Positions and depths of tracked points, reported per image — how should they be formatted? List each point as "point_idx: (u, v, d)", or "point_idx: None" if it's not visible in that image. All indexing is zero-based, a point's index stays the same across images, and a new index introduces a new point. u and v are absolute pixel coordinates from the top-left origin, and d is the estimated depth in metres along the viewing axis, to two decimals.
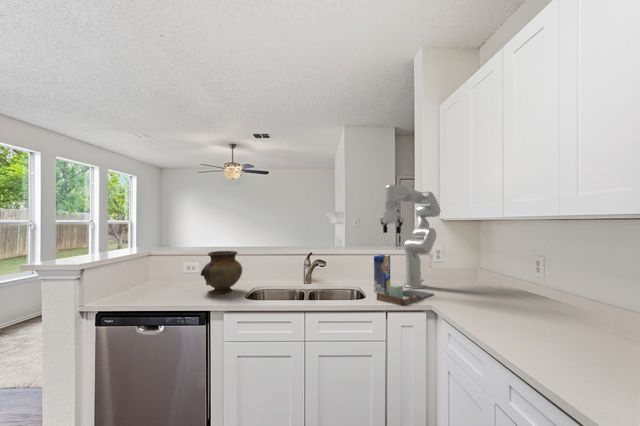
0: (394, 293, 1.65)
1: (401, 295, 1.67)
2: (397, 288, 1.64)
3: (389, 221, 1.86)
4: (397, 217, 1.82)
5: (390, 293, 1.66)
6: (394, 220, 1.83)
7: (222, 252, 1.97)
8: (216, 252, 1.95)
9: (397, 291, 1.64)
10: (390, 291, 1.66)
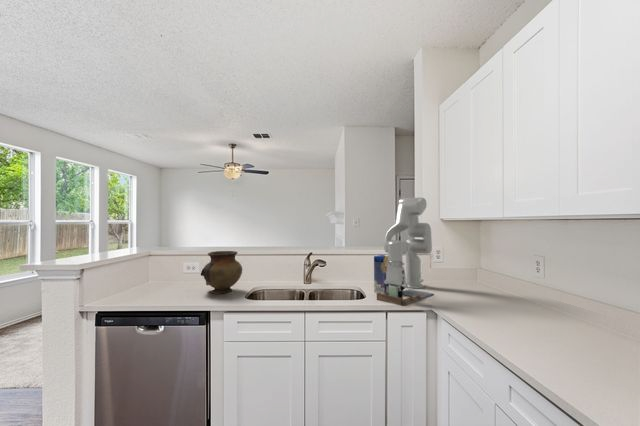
0: (394, 293, 1.65)
1: None
2: (397, 288, 1.64)
3: (393, 282, 1.66)
4: (402, 281, 1.63)
5: (390, 293, 1.66)
6: (398, 282, 1.63)
7: (222, 252, 1.97)
8: (216, 252, 1.95)
9: (397, 291, 1.64)
10: (390, 291, 1.66)
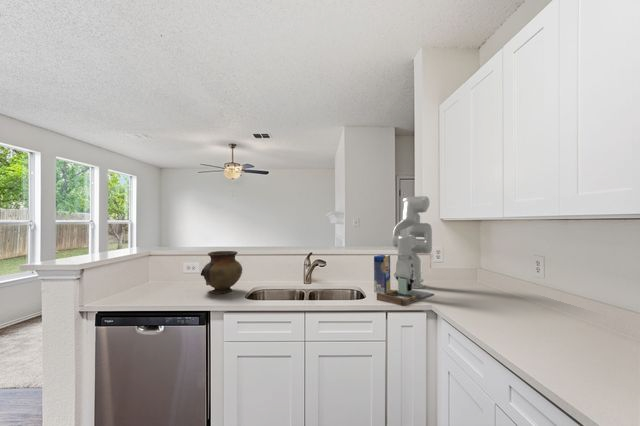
0: (403, 286, 1.71)
1: None
2: (406, 281, 1.71)
3: (402, 275, 1.73)
4: (411, 274, 1.69)
5: (400, 285, 1.73)
6: (408, 275, 1.70)
7: (222, 252, 1.97)
8: (216, 252, 1.95)
9: (406, 284, 1.70)
10: (400, 284, 1.73)
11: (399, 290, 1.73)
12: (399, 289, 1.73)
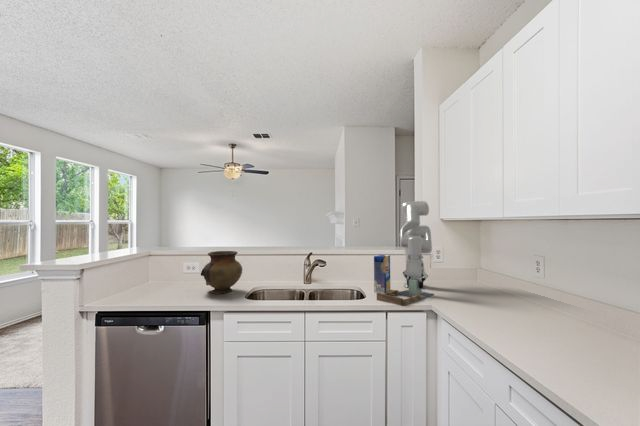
0: (414, 286, 1.78)
1: None
2: (417, 281, 1.78)
3: (412, 274, 1.80)
4: (421, 272, 1.76)
5: (410, 286, 1.80)
6: (418, 274, 1.77)
7: (222, 252, 1.97)
8: (216, 252, 1.95)
9: (416, 284, 1.77)
10: (410, 284, 1.80)
11: (409, 290, 1.80)
12: (409, 289, 1.80)
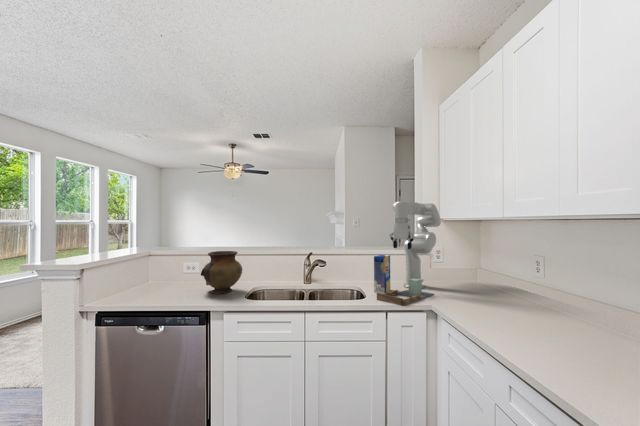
0: (414, 286, 1.78)
1: (420, 288, 1.80)
2: (417, 281, 1.78)
3: (400, 237, 1.89)
4: (408, 233, 1.86)
5: (410, 286, 1.80)
6: (405, 236, 1.86)
7: (222, 252, 1.97)
8: (216, 252, 1.95)
9: (416, 284, 1.77)
10: (410, 284, 1.80)
11: (409, 290, 1.80)
12: (409, 289, 1.80)
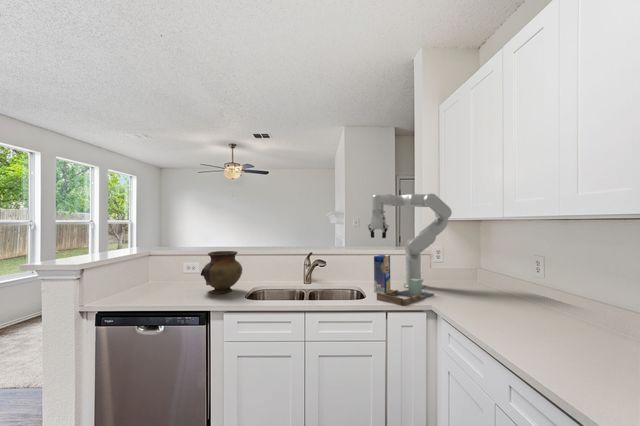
0: (414, 286, 1.78)
1: (420, 288, 1.80)
2: (417, 281, 1.78)
3: (375, 227, 2.06)
4: (382, 224, 2.03)
5: (410, 286, 1.80)
6: (380, 226, 2.04)
7: (222, 252, 1.97)
8: (216, 252, 1.95)
9: (416, 284, 1.77)
10: (410, 284, 1.80)
11: (409, 290, 1.80)
12: (409, 289, 1.80)
